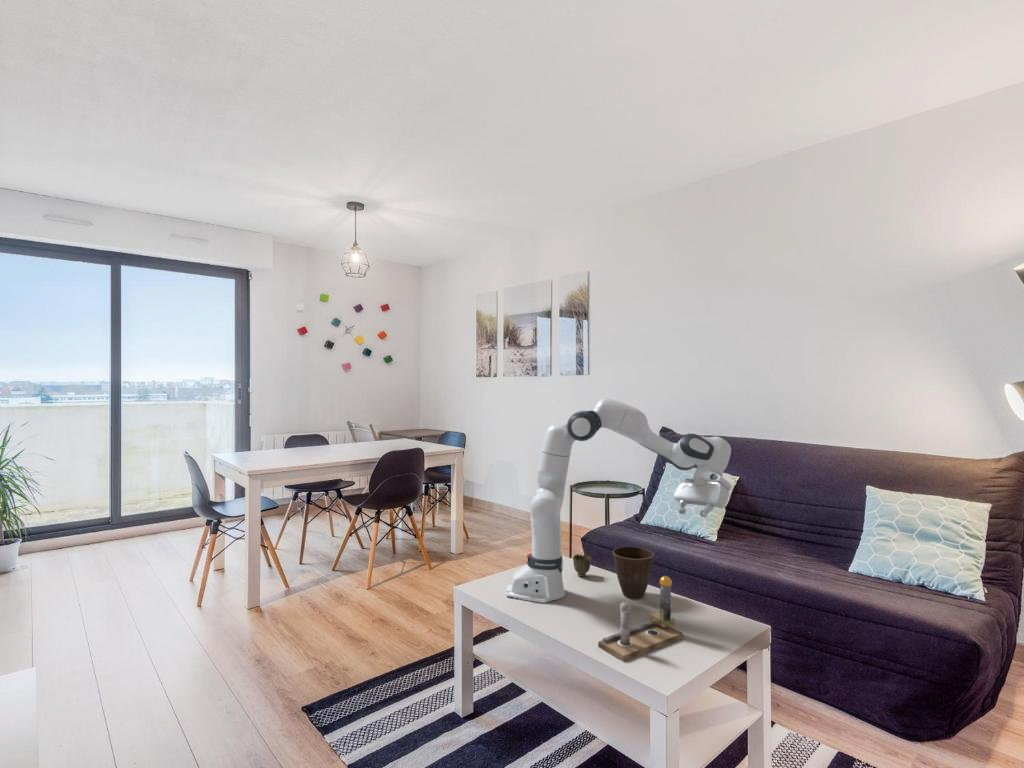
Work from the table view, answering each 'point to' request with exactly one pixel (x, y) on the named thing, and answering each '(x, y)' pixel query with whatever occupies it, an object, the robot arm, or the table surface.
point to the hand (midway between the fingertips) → (691, 515)
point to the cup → (581, 564)
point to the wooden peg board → (637, 637)
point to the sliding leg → (664, 604)
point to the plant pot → (633, 570)
